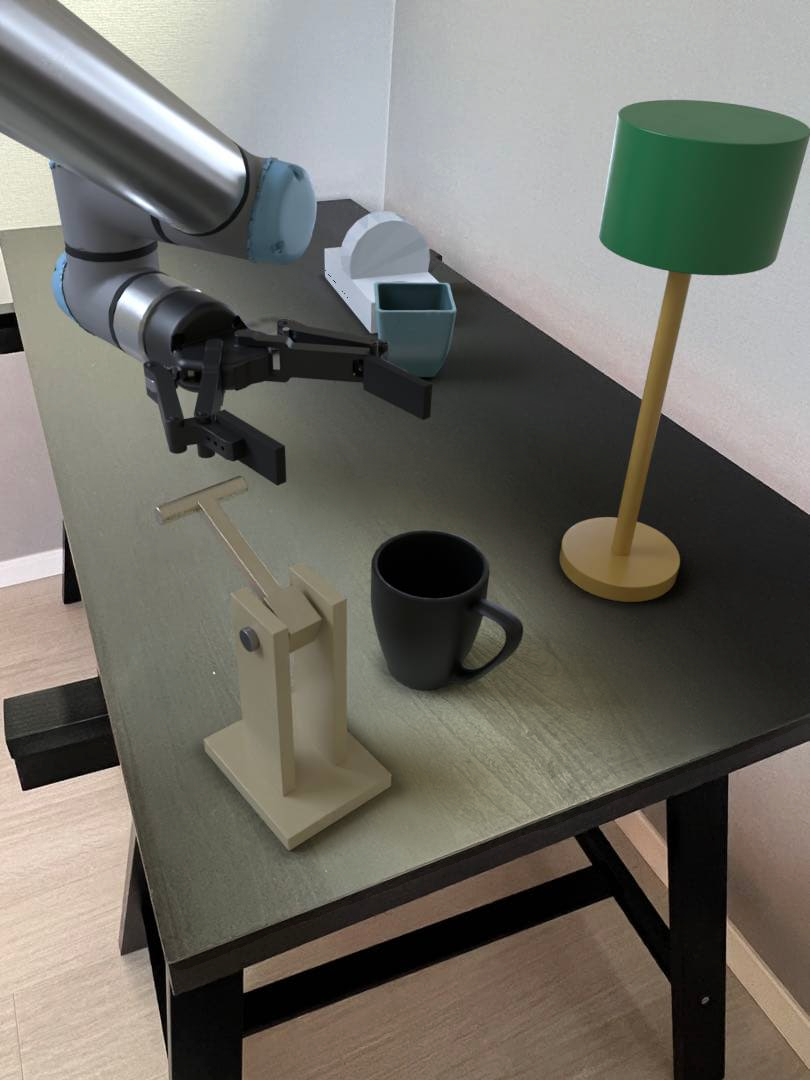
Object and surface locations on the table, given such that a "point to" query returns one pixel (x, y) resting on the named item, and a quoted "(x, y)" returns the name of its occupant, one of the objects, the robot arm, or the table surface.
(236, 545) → the switch
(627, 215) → the lamp
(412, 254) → the tape dispenser
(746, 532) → the table surface
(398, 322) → the flower pot
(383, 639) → the mug
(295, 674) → the beige wooden upright stand
